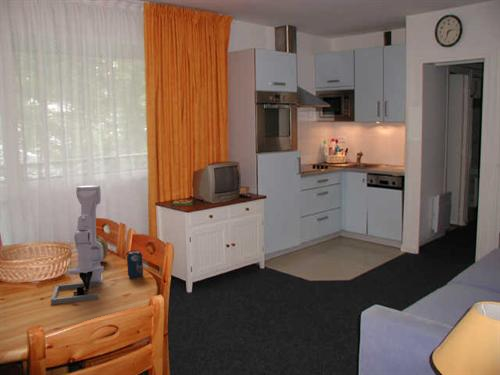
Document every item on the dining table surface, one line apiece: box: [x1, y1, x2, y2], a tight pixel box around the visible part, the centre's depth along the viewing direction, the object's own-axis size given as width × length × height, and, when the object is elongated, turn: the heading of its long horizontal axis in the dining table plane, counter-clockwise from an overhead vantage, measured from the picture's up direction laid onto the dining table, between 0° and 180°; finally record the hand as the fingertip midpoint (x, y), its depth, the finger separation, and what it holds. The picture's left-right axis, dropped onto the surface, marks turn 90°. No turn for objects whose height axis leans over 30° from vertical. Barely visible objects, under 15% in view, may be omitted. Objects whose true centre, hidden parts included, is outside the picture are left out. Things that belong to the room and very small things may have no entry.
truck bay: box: [50, 281, 101, 305], centre depth 208 cm, size 17×18×2 cm
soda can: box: [126, 249, 144, 280], centre depth 228 cm, size 7×7×12 cm
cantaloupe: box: [91, 234, 109, 263], centre depth 249 cm, size 15×15×15 cm
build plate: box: [72, 284, 89, 296], centre depth 207 cm, size 12×7×5 cm, turn 21°
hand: (87, 288), depth 209 cm, fingers closed
